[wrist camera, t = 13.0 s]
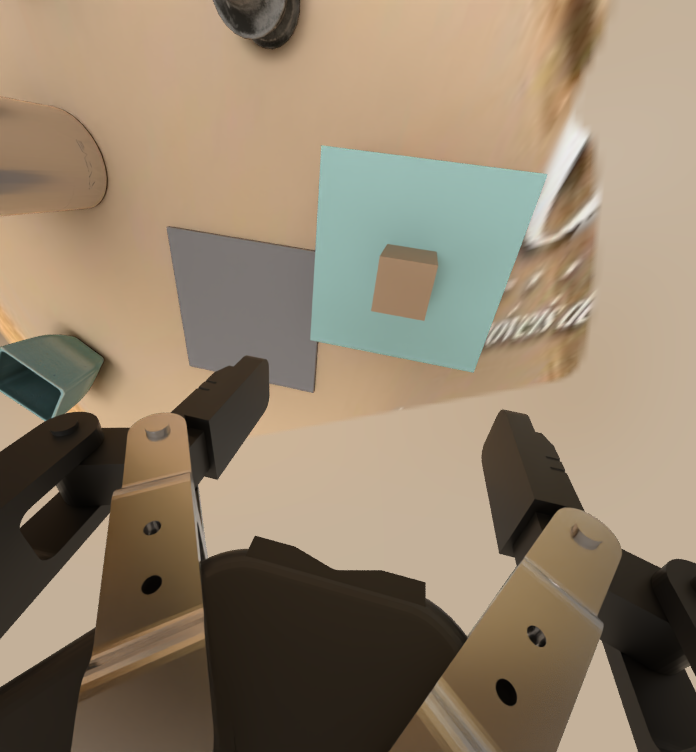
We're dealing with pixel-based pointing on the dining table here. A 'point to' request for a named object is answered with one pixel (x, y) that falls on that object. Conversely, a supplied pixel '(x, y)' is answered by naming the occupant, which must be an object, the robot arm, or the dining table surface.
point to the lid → (415, 253)
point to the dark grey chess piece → (261, 19)
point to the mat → (246, 304)
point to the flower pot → (48, 373)
